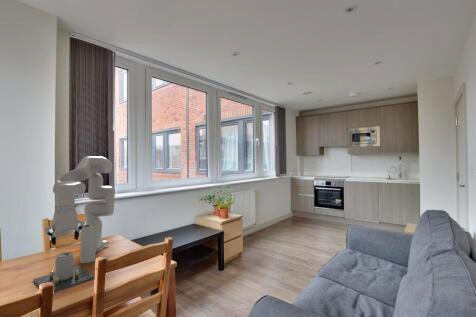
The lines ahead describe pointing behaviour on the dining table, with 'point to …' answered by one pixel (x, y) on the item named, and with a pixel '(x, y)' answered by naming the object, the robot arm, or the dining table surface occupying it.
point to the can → (64, 266)
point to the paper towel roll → (88, 244)
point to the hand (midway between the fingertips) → (65, 241)
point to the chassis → (76, 279)
